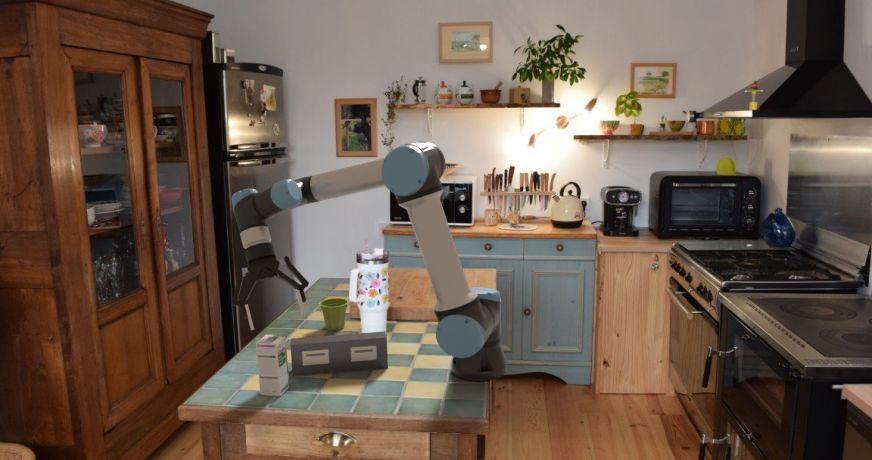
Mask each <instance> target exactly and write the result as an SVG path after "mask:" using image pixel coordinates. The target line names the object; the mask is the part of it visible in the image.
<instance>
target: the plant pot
mask: <svg viewBox="0 0 872 460" xmlns="http://www.w3.org/2000/svg"><path fill="white" fill-rule="evenodd" d="M348 304H349V300H348V299H346V298H341V297H331V298H326V299H323V300H321V301H320V302H319V303H318V305H319V306H320V309H321V311H322V315H323V320H324V325H325V329H326V330H328V331H334V330H337V331H339V330H342V329H344V328H345V327H346V317H347V316H346V313H347V308H348Z"/></svg>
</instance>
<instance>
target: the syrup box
mask: <svg viewBox="0 0 872 460" xmlns="http://www.w3.org/2000/svg"><path fill="white" fill-rule="evenodd" d="M255 349H256V350H255V351H256V352H255V353H256V361H257V362H256V363H257V372H258V381H259V382H258V383H259V392H260V396H265V397H282V395H283V394H284V393H285V392H286V391H287V390H288V389H290V387H291V386H290V384H291V383H290V374H289V373H290V372H289V364H288V363H289V361H288V352H287V351H288V350H287V340H286V336H285V335H283V334H264V336H263V337H261V338H260V339H259V340H258V341H256V342H255Z"/></svg>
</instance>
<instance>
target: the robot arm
mask: <svg viewBox="0 0 872 460" xmlns="http://www.w3.org/2000/svg"><path fill="white" fill-rule="evenodd" d="M444 155H445V154H444V153H443V151H442V150H441V149H440V148H439V147H438V146H437V145H436V144H435V143H432V142H429V141H426V140H425V141H421V140H420V141H417V142H412V143H411V142H409V143H405V144H400V145H399V146H397V147H395V148H393V149H391V150H390V151H389V152H388V153H387V155H385V157H384V158H383V157H382V158H379V159H374V160H371V161H366V162H363V163H359V164H354V165H349V166H347V167H342V168H338V169H334V170H330V171H324V172H321V173H317V174H314V175H309V176H303V177H300V178H297V179H294V180H292V179H290V178H286V179H283V180H281V181H277V182H275V183H274V184H272V185H270V186H269V187H266V188H265V189H262V190H260V191H258V190H257V189H255V188H243V189H242V190H237V192H234V193H233V194H232V196H231V205H232V212H233V214H234V218H235V220H236V224H237V226H238V229H239V236H240V239H241V243H242V246H243V247H242V248H244V254H245V258H246V261H247V267H238V268H237V269H236V271H237V279H236V285H235V287H234V288H235V289H234V291H233V294H232V295H233V296H232V301H231V305H232V307H239V308H240V311H241V315H242V317H243V319H247V320H248V325H249V327H250V330H251V331H253V330H254V331H255V326H254V323H253V322H254V321H253V319H252V315H251V312H250V308H249V304H248V303H247V300H248V299H249V298H250V295H251V293H252V291H253V290H254V287H255V285H256V284H257V282H258V281H260V282H262V281H263V282H264V281H265V280H267V279H268V280H270V279H273V278H274V277H276V278H279V279H280V280H282V281H283V282H285V283H286V284H287V285H289V286H291V287H292V288H293V289H295V290H296V291H295V294H296V297H297V301H298V306H299V308H300V312H301V317H305V316H306V315H307V312H306V309H305V306H304V303H306V302H307V297H306V294H305V289H306V288H307V287H309V285H310V282H309V281H308V280H307V279H306V278H305V277H304V275H302V273H301V272H300V271H299V270H298V269H297V268H296V267H295V265H293V263H292V262H291V260H290V258H289V256H287V255H285V256H284V257H283V258H281V259H278V257H277V256H276V252H275V248H274V245H273V243H272V237H271V233H270V230H269V226H268V222H267V220H269V219H271V218H273V217H275V216H277V215H279V214H282V213H284V212H287V211H290V210H292V209H297V208H299V207H302V206H305V205H310V204H314V203H318V202H323V201H327V200H331V199H336V198H341V197H345V196H349V195H353V194H358V193H364V192H367V191H372V190H373V191H374V190H377V189H381V188H387V190H388V191H390V192H391V193H393V194H394V196H395V198H396V201H397V204H398V206H399V207H401V208H403V209H405V210H406V211H407V214H408V218H409V220H410V223H411V226H412V229H413V232H414V235H415V238H416V241H417V242H416V243H417V244H418V248H419V251H420V254H421V256H422V259H423V263H424V266H425V268H426V269H425V270H426V272H427V274H428V278H429V281H430V283H431V285H432V286H431V287H432V289H433V292H434V295H435V299H436V303H435V304H434V306H433V311H434V315H435V317H436V321H437V326H436V330H435V338H436V342H437V344H438V346H439V347H440V349H441V350H442V351H443V352H444V353H446V354H448V355H449V356H451V357H453V358H452V361H451V371H452V374H453V375H454V376H456V377H458V378H460V379H462V380H466V381H472V382H488V381H493V380H498V379H500V378H502V377H504V376H505V375H506V374H508V373H507V372H508V361H507V358H506V355H505V353H504V348H503V346H502V340H501V339H502V331H501V330H502V329H501V328H502V323H501V322H502V317H501V316H502V314H501V313H502V310H501V309H502V300H501V293H500V291H499V290H497V289H494V288H490V287H483V286H482V287H481V286H479V287H477V286H473V287H471V286H470V287H469V283H468V280H467V277H466V275H465V272H464V268H463V266H462V262H461V259H460V255H459V252H458V250H457V247H456V244H455V241H454V239H453V234H452V232H451V229H450V226H449V224H448V223H449V222H448V219H447V217H446V213H445V211H444V208H443V205H442V201H441V196H442V194H443V192H444V188H443V184H442V181H441V178H442V177H443V176H444V173H445V169H446V165H447V164H446V157H445V156H444ZM280 265H282V266H283V267H286V269H288V270H289V272H290V273H291V274H292V275H293V276H294V277H295V278H296V279H297V280H298V282H297V281H296V280H295V279H293V278H291V277H290V276H288V275H287V274H285V273H284V272H282V271H281V270H280V269H279V268H280V267H279V266H280ZM247 273H248V274H250V276H252V277H251V279H250V282H249V283H248V285H247V287H246V289H245V291H244V293H243V295H242V297H241V299H240V300H239V298H240V297H239V296H240V293H241V288H242V284H243V279H244V277H246V275H247ZM299 282H300V283H299ZM246 303H247V304H246Z"/></svg>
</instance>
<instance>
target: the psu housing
mask: <svg viewBox="0 0 872 460" xmlns="http://www.w3.org/2000/svg"><path fill="white" fill-rule="evenodd" d="M290 357H291V358H290V359H291V372H292V377H300V376H301V377H302V376H313V375H325V374H335V373H338V374H339V373H346V372H350V373H351V372H358V371H361V372H362V371H371V370H373V371H374V370H383V369H384V368H385V369H389V363H388V362H389V361H388V359H389V358H388V337H387V332H386V331H374V332H371V331H370V332H362V333H361V332H360V333H348V334H347V333H345V334H334V335H319V336H307V337H306V336H305V337H294V338H293V337H292V338H291V339H290ZM385 369H384V370H385Z"/></svg>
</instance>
